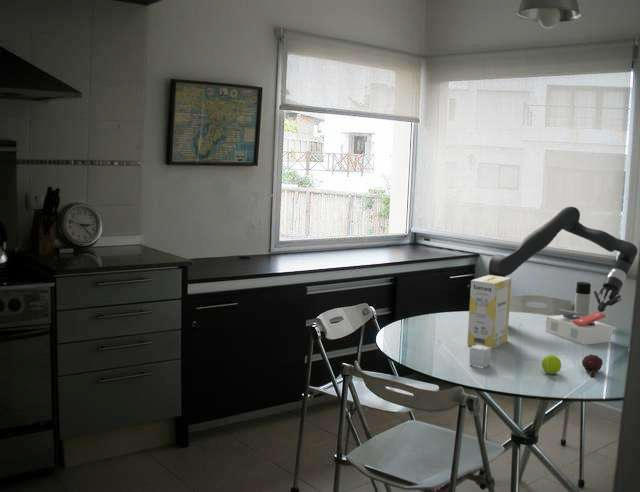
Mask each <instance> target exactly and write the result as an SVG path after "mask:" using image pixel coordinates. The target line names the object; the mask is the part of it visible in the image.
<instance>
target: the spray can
mask: <svg viewBox="0 0 640 492" xmlns="http://www.w3.org/2000/svg"><path fill="white" fill-rule="evenodd" d="M591 287H592V285H591V283H590V282H586V281H578V282H576V288H575V298H574V307H573V308H574V309H573V310H574V311H573V312H578V313H581V314H584V315H585V316H588V315H590V313H589V311H590V301H591ZM585 316H584V317H585Z"/></svg>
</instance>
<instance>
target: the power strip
mask: <svg viewBox="0 0 640 492" xmlns="http://www.w3.org/2000/svg"><path fill="white" fill-rule="evenodd" d="M579 318H582V317H580V316H575V315H574V316H572V315H569V314H564V313H562V314H560V315H559V314H558V315H549V316H548V315H547V316H546V321H545V322H546V323H545V332H547V333H550V334H552V335H555V336H558V337H559V338H560V337H561V338H564V339H566V340H569V341H572V342H575V343H577V344H581V345H583V346H585V345H593V344H604V343H605V344H606V343H611V342H612V338H613V329H614V328H613V327H614V326H613V325H609V324H606V323H604V322H603V323H602V322H600V321H598V320H596V321H594V322H591V323H588V324H585V325H582V326H580V325H577V324H574V323H573V320H576V319H579Z"/></svg>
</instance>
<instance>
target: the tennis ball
mask: <svg viewBox="0 0 640 492" xmlns="http://www.w3.org/2000/svg"><path fill="white" fill-rule="evenodd" d="M541 368H542V370H543V371H544V372H545V373H546V374H549V375H555V374H557V373H559V372H560V371H561V369H562V361H561V359H560V358H559V357H558V356H556V355H554V354H551V355H550V354H549V355H546V356H544V358H543V359H542V361H541Z"/></svg>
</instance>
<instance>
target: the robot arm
mask: <svg viewBox="0 0 640 492" xmlns="http://www.w3.org/2000/svg"><path fill="white" fill-rule="evenodd" d="M580 218H581V213H580V210H579V208H577V207H575V206H567V207H564V208H563V209H561V210H560V211H559V212H558V213H557V214H556V215H554V217H552V218H551V219H550V220H548V221H546V222H545V223H544V224H543V225H541V226H540V227H538V228H537V229H535V230H534V231H533V232H531V233H529V234H528V235H527V236H526V237H524V238H523V240H522V242H521V243H520V245H519V247H518V248H517V249H516V250H515V251H514V252H512V253H510V254H508V255H506V256H505V255H502V254H495V255H493V256H492V257H491V258H490V259H489V263H488V275H493V276H501V277H507V276H510V275H511V274H513V273H514V272H515V271H516V270H517V269H518V268H520V267H521V266H522V265H523V264H524V263H525V262H527V261H528V260H530V259H531V258H532V257H533V256H535V255H536V254H538V253H540V252H541V251H542V250H544V249H545V248H546V247H548V246H549V244H551V242H553V240H554V239H555V238H556V236H558V234H559V233H560V232H561V231H565V232H568V233H570V234H572V235H575V236H578V237H580V238H583V239H585V240H588V241H590V242H592V243H594V244H596V245H597V246H599V247H600V248H602V249H604V250H606V251H607V252H610V253H613V252H614V251H616V252H619V254H618V257H617V259H616V261H615V262H614V264H613V265H612V267H611V270H610V271H609V272H608V274H607V275H606V278H605V280H604V282H603V284H602V287H601V288H599V290H598V291H596V290H594V291H593V294H594V297H595V299H596V301H597V304H598V306H597V310H598V313H603V312H605V310H606V309H607V307H608V306H610V307H612V306H613V305H615V304H617V303H619V302H621V301H622V300H623V299H622V296H621V295H620V292H621V289H622V287H623V285H624V283H625V282H626V278H627V276H628V274H629V271H630V269H631V267H632V265H633V264H634V263H635V260H636V257H637V255H638V247H637V245H635V243H632V242H630V241H626V240H624V239H621V238H617V237H616V236H614V235H611V233H609V232H606V231H604V230H601V229H594V228H590V227H587V226H585V225H583V224H582V223H581V222H580Z"/></svg>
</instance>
